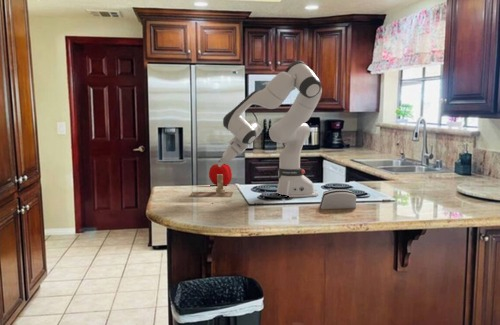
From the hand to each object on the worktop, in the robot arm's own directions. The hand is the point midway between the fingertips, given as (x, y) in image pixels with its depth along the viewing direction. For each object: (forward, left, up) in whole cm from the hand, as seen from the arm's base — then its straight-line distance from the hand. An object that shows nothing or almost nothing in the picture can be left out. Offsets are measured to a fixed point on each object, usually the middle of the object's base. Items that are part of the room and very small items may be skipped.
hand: (218, 164), depth 225 cm
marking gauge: (-1, +1, -15) cm, 15 cm away
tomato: (+2, -30, -17) cm, 35 cm away
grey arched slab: (-59, +26, -17) cm, 66 cm away
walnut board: (+4, +3, -17) cm, 18 cm away
